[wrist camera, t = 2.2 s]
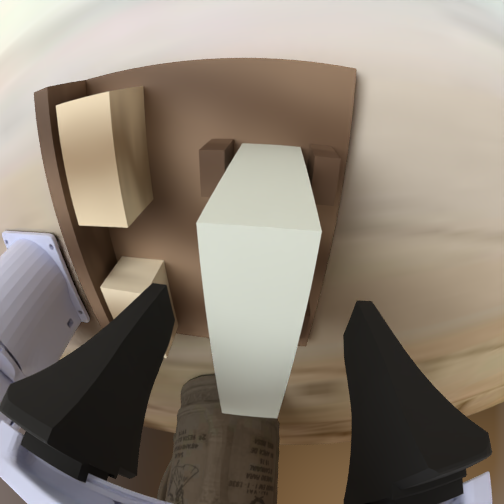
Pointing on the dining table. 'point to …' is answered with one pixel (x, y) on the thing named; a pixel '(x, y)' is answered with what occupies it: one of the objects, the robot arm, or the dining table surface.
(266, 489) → the beer stein
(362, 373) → the robot arm
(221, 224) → the panel
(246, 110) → the rack
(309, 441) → the dining table surface
